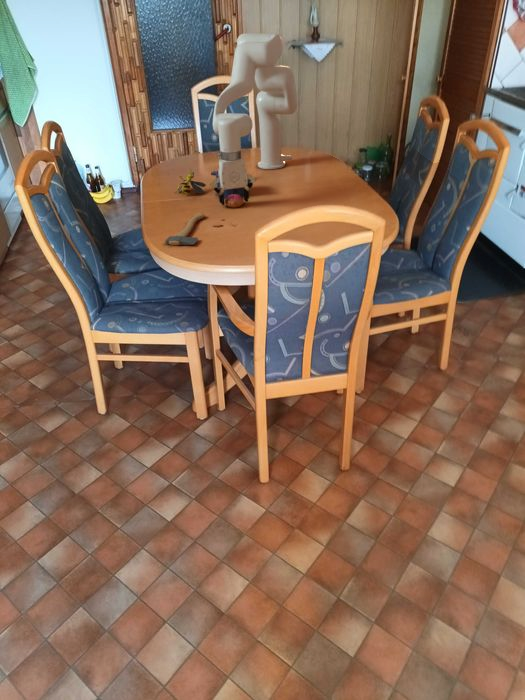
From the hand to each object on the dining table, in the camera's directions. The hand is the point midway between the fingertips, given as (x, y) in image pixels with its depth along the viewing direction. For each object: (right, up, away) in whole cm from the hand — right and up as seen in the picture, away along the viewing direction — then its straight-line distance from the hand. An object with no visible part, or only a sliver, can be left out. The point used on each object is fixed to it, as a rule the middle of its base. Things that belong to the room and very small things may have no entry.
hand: (234, 202), depth 200 cm
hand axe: (-13, -15, -18) cm, 27 cm away
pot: (-1, +7, +12) cm, 14 cm away
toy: (-19, +7, +13) cm, 24 cm away
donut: (0, -1, +1) cm, 1 cm away
